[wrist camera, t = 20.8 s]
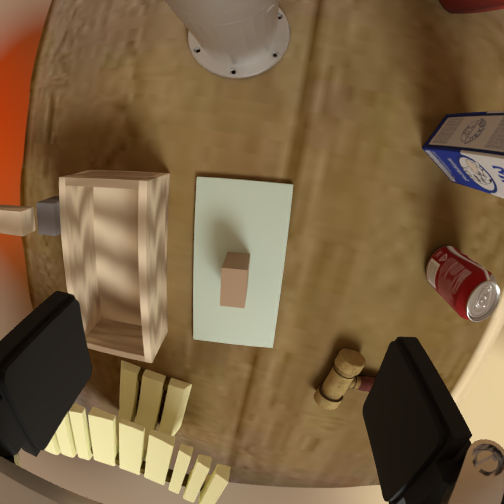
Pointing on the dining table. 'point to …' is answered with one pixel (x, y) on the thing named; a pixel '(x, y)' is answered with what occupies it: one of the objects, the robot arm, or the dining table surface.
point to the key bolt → (16, 220)
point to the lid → (239, 259)
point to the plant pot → (471, 5)
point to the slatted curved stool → (142, 436)
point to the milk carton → (471, 150)
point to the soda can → (463, 283)
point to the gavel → (343, 379)
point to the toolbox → (114, 256)
